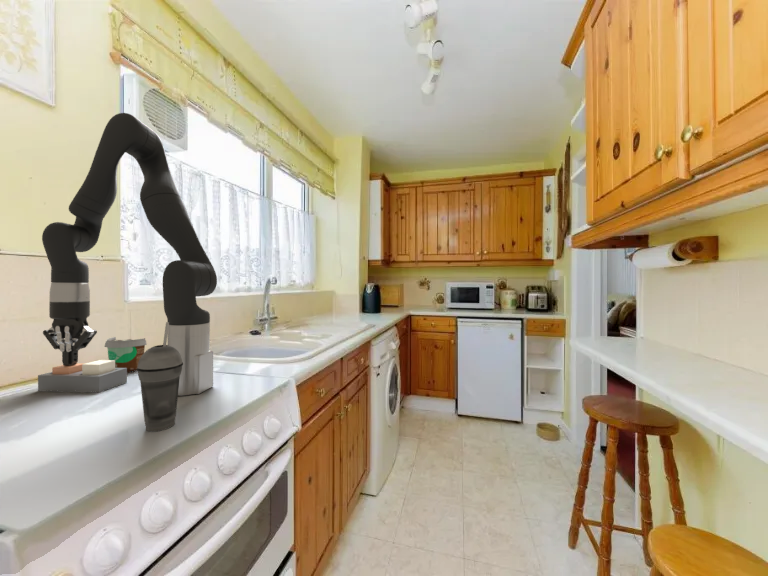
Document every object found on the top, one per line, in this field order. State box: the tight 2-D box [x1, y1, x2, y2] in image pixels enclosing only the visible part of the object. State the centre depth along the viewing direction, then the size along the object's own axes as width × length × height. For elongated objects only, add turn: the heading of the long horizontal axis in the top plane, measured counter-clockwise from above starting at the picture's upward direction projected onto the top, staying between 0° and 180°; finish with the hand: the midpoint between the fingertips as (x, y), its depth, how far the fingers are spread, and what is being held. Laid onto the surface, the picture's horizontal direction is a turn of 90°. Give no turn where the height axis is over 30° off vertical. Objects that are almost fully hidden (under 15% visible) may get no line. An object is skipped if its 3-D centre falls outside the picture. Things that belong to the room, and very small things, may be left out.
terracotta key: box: [51, 362, 87, 374], centre depth 82 cm, size 4×4×4 cm
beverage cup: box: [136, 321, 183, 432], centre depth 60 cm, size 7×7×20 cm
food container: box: [104, 336, 148, 373], centre depth 97 cm, size 12×6×10 cm, turn 81°
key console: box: [37, 368, 128, 393], centre depth 82 cm, size 16×8×4 cm, turn 88°
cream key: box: [82, 359, 115, 375], centre depth 82 cm, size 4×4×4 cm
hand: (70, 365), depth 82 cm, fingers closed
